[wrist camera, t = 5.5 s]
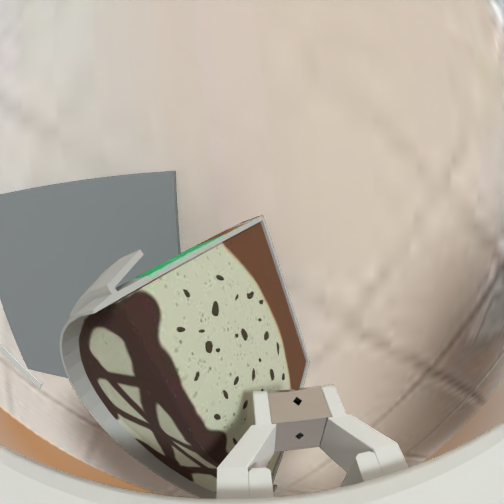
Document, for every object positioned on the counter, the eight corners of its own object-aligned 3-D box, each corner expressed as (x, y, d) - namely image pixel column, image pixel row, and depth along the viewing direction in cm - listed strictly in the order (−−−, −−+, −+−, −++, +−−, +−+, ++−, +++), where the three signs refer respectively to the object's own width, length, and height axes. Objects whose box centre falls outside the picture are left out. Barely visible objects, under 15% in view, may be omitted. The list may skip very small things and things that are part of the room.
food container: (159, 216, 16) (12, 300, 8) (253, 185, 14) (80, 287, 5) (232, 377, 20) (161, 488, 11) (314, 377, 17) (262, 520, 9)
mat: (175, 170, 15) (173, 171, 14) (197, 386, 20) (196, 392, 19) (-16, 198, 14) (-21, 199, 14) (30, 364, 19) (28, 368, 18)
